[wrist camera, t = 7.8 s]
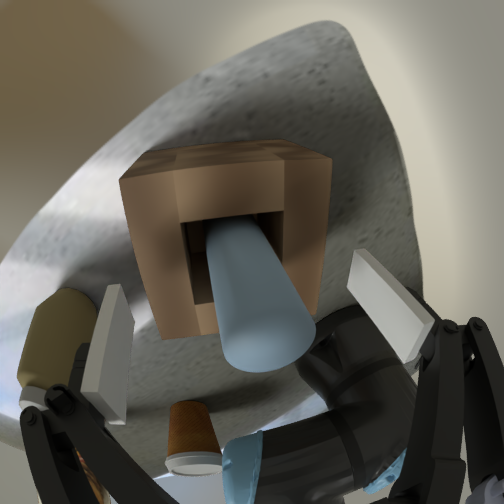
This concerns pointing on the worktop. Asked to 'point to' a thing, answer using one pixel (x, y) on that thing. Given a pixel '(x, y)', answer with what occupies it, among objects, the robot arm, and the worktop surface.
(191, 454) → the disposable coffee cup
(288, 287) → the dowel
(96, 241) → the worktop surface
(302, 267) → the socket block
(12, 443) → the worktop surface
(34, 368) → the squeeze bottle
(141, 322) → the worktop surface
